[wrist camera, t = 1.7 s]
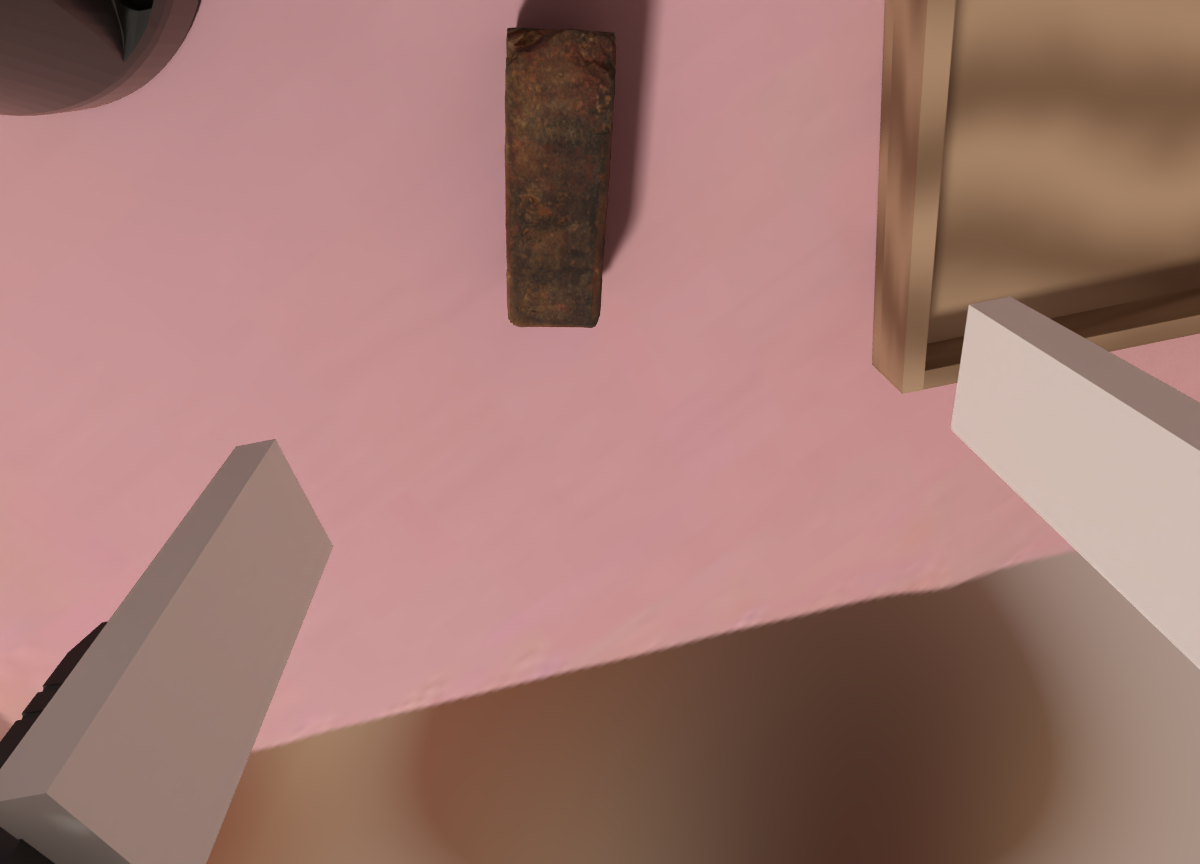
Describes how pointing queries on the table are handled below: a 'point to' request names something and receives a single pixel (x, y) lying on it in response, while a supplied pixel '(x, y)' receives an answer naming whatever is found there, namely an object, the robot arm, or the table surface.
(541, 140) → the brick
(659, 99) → the table surface
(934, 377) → the tray
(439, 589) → the table surface
